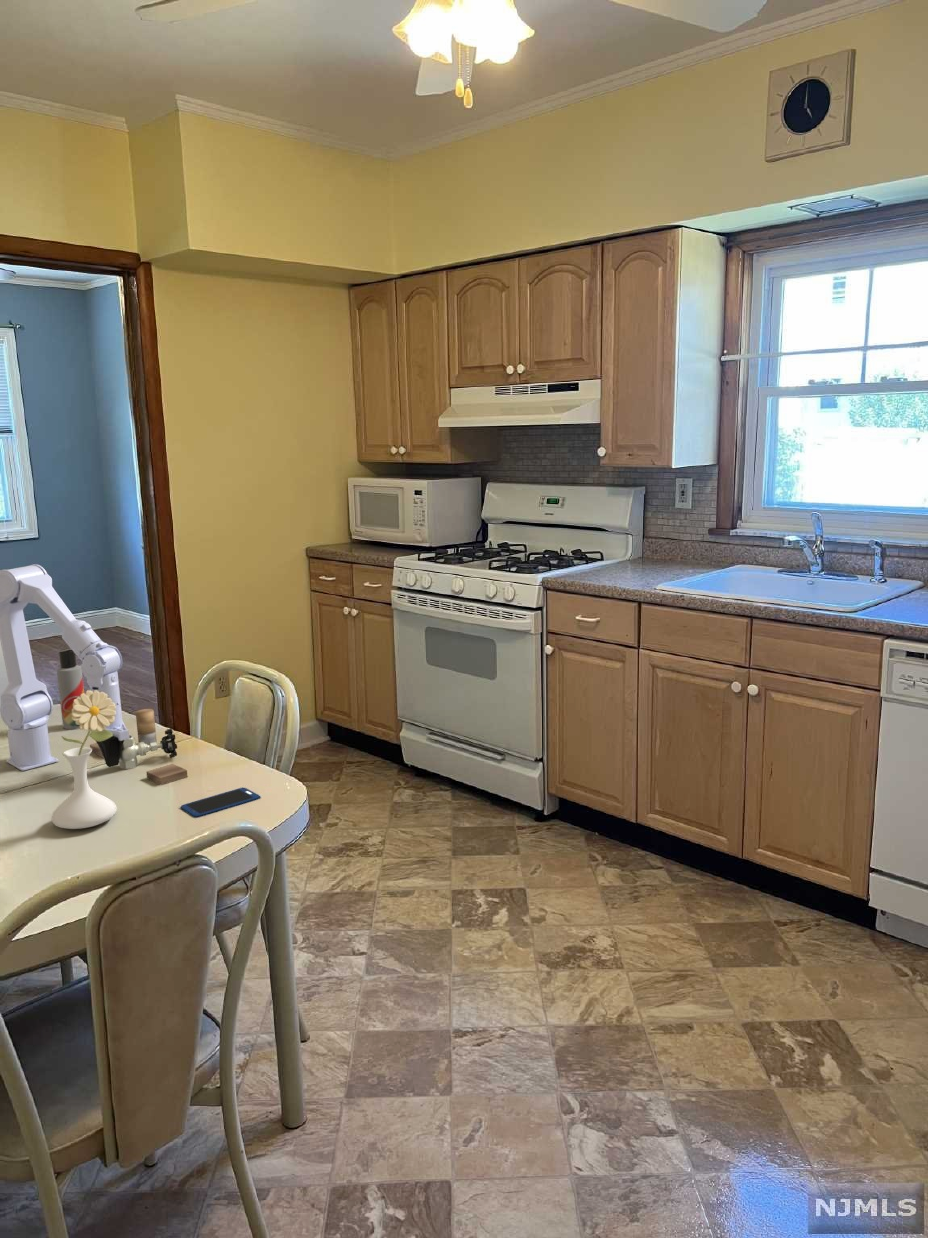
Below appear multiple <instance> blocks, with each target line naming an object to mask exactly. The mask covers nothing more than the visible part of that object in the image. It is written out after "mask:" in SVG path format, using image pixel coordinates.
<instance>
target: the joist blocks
mask: <svg viewBox="0 0 928 1238" xmlns="http://www.w3.org/2000/svg"><path fill="white" fill-rule="evenodd" d="M89 748H91V749H92V752H91V753H94V754H96V755H98V756H99V757H103V754H102V752H101V749H100V747H99V746H98V744H97V742H95V743H91V744H89ZM103 758H104V757H103ZM146 778H147V780H151V781H152V782H154V783H156V784H158V785H161V786H162V785H166V784H168V783H172V782H176V781H179V780H182V779H185V778H188V770H187V769H186V768H183V767H181V766H179V765H177V764H174V763H171V764H168V765H165V766H161V767H157V768H153V769H150V770H147V771H146Z"/></svg>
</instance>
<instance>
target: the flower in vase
mask: <svg viewBox="0 0 928 1238" xmlns="http://www.w3.org/2000/svg"><path fill="white" fill-rule="evenodd" d="M80 697H81V698H79V697H78V698H76V699H75V700H74V703H73V709H72V720H74V721H76V722H75V723H76V724H77V725H80V728H79V729H80V730H83V731H87V733H86V736H85V738H84V739H83V742H81V741H80V740H78V739H71V738H70V739H69V738H67V737H65V736H61V739H62V740H63V741H66V742H70V743H74V744H75V743H76V744H80V745H81V746H80V747H73V748H70V749H67V750H65V751H64V752H63V753H62V756H63V757H64V758H65V759H67V761H68V762H69V764H70V765H69V766H70V767H71V770H72V775H73V782H74V785H73V791H72V792H71V794H70V795H69V796H68V797H66V799H64V800H63V801H62V802H61V804H59V805H58V806H56V808H55V810H54V811H52V814H51V823H52V824H53V825H54V826H56V827H58V828H61V829H65V830H67V829H69V830H81V829H88V828H91V827H95V826H98V825H101V824H103V823H105V822H107V821H109V820H110V819H112V818H113V817H115V815H116V813H117V811H118V807H117V805H116V803H115V802H114V801H113V800H112V799H110V798H108V797H106V796H104V795H103V794H100V793H98V792H96V791H94V789H92V788H91V787H90V785H89V782H88V773H87V770H88V769H87V766H88V760H89V758H90V755H91V753H93V752H92V749H91V748H90V747H84V746H85V744H86V742H87V740H88V739H89V736H90V738H91V739H93V740H94V741H95V742H96V741H97V742H101V741H104V740H106V739H108V738H110V737H112V736H113V734H112V733H111V732H109V731H108V730H106V729H105V726H106V727H108V726H110V725H111V723H113V722H114V721H115V717H114V716H115V715H116V712H115V709H116V706H115V703H113V702H112V700H111V699H110V698H107V697H108V696H107V694H105V693H104V692H100V693H99V692H98V691H94V692H93V691H90V689H87V690H86V691H85V692H84V693H83V694H81V695H80ZM92 730H93V731H92ZM90 731H92V732H90ZM97 742H96V743H97Z"/></svg>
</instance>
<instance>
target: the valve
mask: <svg viewBox="0 0 928 1238" xmlns="http://www.w3.org/2000/svg"><path fill="white" fill-rule="evenodd" d="M175 740H176V735H175V733H173V728H168V729H166V730H165V731H164V736H163V737H161V740H160V742H159V743H158V742H157V743H156V742H154V743H150V744H149V745H147V744H145V743H144V742H140V743H139V742H138V743H137V744H136V736H135V735H132V734H129V739H126V740H124V742H123V745H122V748H121V753H120V760H119V765H118V766H119V768H120V769H121V770H129V769H130V770H131V769H134V768H137V766H138V764H139V763H138V756H140V757H144V756H146V755H147V753H148V752H149V751H150V752H155V751H156V752H157V751H158V749H161V750H163V753H165V754H169V755H168V756H169V759H172V758H175V757H177V756H178V753H177V750H176V749H178V744H177V743H176V741H175Z"/></svg>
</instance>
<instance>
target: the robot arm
mask: <svg viewBox="0 0 928 1238" xmlns="http://www.w3.org/2000/svg"><path fill="white" fill-rule="evenodd" d="M28 604H35V605H38V607H39V609H40V608H41V610H42V611H43V612H44V613H46V614H47V616H48V617H49V618H51V619H52V621H53V622H55V624H56V625H57V626H58V627H59V628H60V629H61V630H62V631H61V639H62V641H64V643H66V645H68V648H71V649H72V650H73V651H74V653H75V654H76V657H77V658H79V660H80V661H81V662H82V664H80V666H81V670H82V674H83V675H84V676H85V678H86V683H87V684H88V686H89V690H90V691H93V692H94V691H98V692H99V693H100V692H104V693H105V694H107V696H108V697H107V698H110V699H111V700H112V702H113V703H115V706H116V709H115V712H116V715H115V716H114V717H115V721H114V722H113V723H111V725H110V726H108V727H106V726H105V729H106V730H108V731H109V732H111V733H112V734H113V736H112V737H110V738H108V739H106V740H104V741H101V742H97V741H95V743H97V744H98V746H99V747H100V749H101V752H102V754H103V760H104V762H105V764H106V766H107V768H112V767H113V768H114V767H116V766H119V760H120V753H121V748H122V745H123V742H124V740H126V739H129V735H130V732H129V731H130V729H128V728H127V727H126V725H125V722H124V721H123V713H122V704H121V693H120V685H119V674H118V673H119V672H118V671H119V670H120V669H121V668H122V666H123V657H122V654H121V652H120V650H119V649H118V647H116V646H114V645H109V644H108V643H107V642H104V641H103V640H102V639H101V638H100V637H99V636H98V634H97V633H96V632H95V631H94V630H93V629H92V626H91V624H90V623H88V622H87V621H85V620H80V619H76V617H75V615H74V614H73V613H72V612H71V611H70V609H69V607H67V605H66V603H65V602H64V601H63V599H62V598H61V597H60V596H59V594H58V593H57V591H56V590H55V588H54V587H53V579H52V577H51V576H50V575H49V574H48V572H47V570H45V568H44V567H43V566H42V565H40V564H37V563H36V564H30V565H27V566H20V567H15V568H11V569H10V568H9V569H0V645H1V651H2V656H3V660H4V666H5V670H6V676H7V679H8V685H7V686H6V688H5V689H4V690H3V691H2V693H1V694H0V702H1V703H0V717H1V719H2V722H3V723H4V724H5V725H6V726H7V728H8V731H7V741H8V750H9V758H7V759H6V760H5V761H6V763H8V764H10V765H11V766H13V767H15V768H17V769H18V770H20V771H22V772H23V771H28V770H32V769H35V768H39V767H43V766H46V765H49V764H53V763H58V762H59V759H58V758H57V757H56V756H55V757H54V756H53V755H51V745H50V737H49V729H48V721H50V718H49V716H51V714H52V712H53V710H54V703H53V702H54V701H53V699H52V697H51V696H50V694H49V692H48V688H47V685H46V683H43V682H42V681H40V680H38V679H37V677H36V676H37V675H36V671H35V666H34V662H33V655H32V652H31V646H30V639H29V635H28V634H29V633H28V629H27V624H26V619H25V614H24V609H25V608H26V607H27V605H28ZM92 731H93V730H92ZM92 731H90V733H91V732H92Z"/></svg>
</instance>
